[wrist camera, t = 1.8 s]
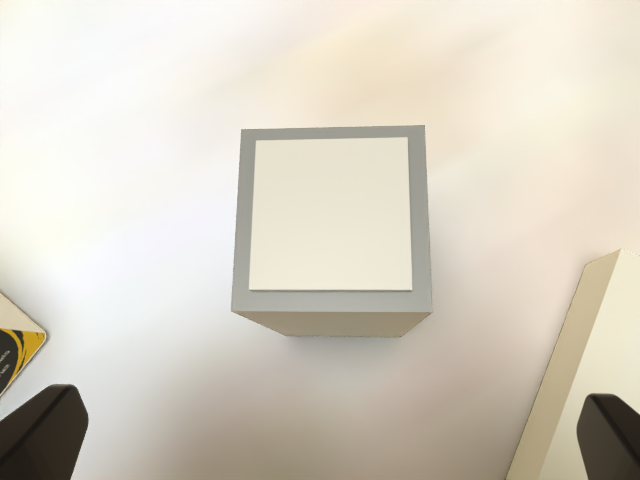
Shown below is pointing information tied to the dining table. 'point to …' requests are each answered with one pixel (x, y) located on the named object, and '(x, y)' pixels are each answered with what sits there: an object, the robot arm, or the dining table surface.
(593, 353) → the tray
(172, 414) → the dining table surface
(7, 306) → the yellow black printed box
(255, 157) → the grey tall block
